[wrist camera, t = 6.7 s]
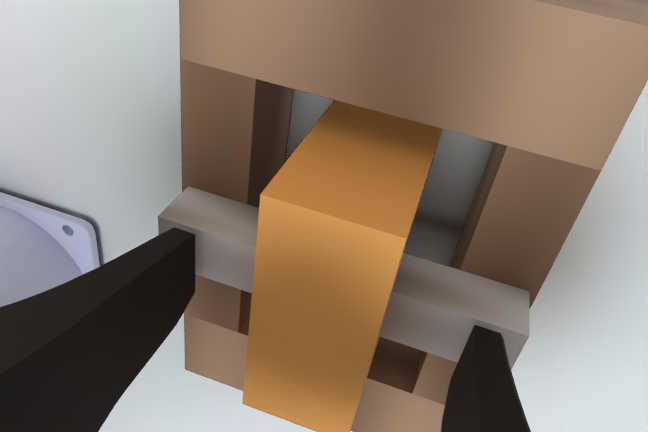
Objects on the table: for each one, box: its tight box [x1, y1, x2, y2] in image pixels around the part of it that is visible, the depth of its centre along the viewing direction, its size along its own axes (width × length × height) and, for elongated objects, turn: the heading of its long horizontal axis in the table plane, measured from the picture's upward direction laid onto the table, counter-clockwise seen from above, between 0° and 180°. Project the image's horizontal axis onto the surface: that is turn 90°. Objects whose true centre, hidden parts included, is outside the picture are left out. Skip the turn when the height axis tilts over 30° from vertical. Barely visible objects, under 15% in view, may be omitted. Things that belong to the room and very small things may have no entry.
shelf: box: [158, 0, 648, 432], centre depth 16 cm, size 10×15×5 cm, turn 172°
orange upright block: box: [242, 100, 442, 432], centre depth 15 cm, size 3×7×6 cm, turn 172°
